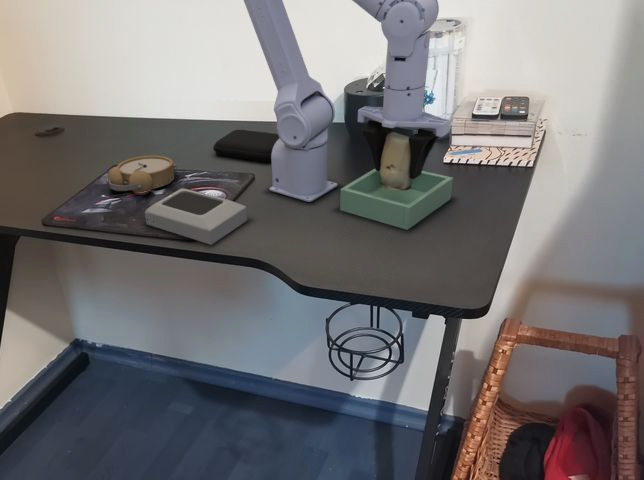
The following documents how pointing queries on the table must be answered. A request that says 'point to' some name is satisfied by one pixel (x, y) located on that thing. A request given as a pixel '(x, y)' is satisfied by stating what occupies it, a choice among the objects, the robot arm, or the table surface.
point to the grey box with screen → (196, 215)
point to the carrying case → (247, 145)
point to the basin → (396, 198)
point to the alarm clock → (141, 174)
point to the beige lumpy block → (396, 162)
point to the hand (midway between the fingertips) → (397, 172)
